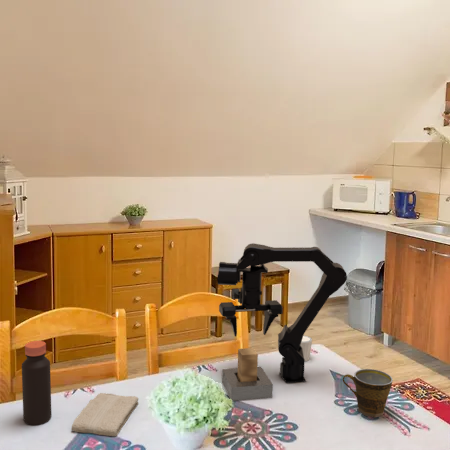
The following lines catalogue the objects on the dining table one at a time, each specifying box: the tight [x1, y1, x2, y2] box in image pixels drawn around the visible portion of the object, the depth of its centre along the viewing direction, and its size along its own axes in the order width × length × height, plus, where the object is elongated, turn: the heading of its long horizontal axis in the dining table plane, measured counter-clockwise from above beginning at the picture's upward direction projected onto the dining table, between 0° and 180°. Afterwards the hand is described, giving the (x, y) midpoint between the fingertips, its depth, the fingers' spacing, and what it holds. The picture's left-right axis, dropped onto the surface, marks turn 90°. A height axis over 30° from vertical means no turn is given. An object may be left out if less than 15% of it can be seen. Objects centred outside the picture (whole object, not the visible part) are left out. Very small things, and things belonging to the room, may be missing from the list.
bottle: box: [21, 340, 52, 426], centre depth 131 cm, size 7×7×20 cm
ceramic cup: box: [342, 368, 394, 418], centre depth 141 cm, size 13×10×10 cm
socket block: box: [221, 366, 274, 402], centre depth 152 cm, size 12×12×4 cm
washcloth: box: [71, 392, 139, 437], centre depth 135 cm, size 12×18×3 cm, turn 172°
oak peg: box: [237, 347, 259, 382], centre depth 150 cm, size 5×5×12 cm
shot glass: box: [300, 334, 313, 362], centre depth 175 cm, size 7×7×7 cm
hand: (249, 335), depth 159 cm, fingers open, 9 cm apart
